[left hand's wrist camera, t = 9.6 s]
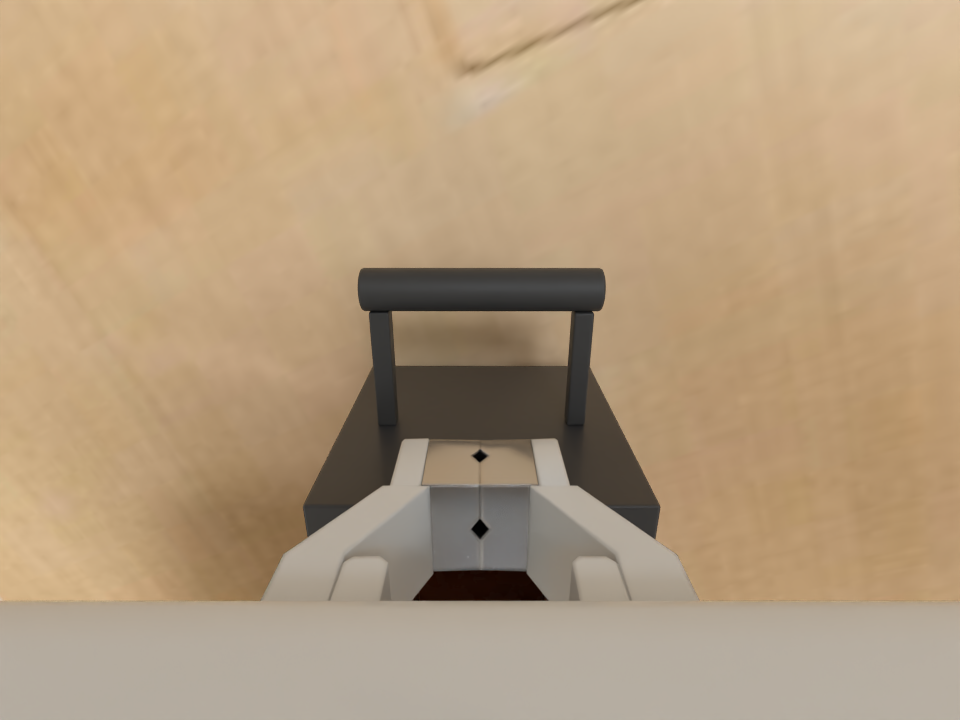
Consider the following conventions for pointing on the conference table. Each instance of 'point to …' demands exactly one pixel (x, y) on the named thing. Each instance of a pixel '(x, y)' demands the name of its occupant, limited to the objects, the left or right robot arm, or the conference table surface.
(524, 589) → the drawer
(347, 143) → the conference table surface
